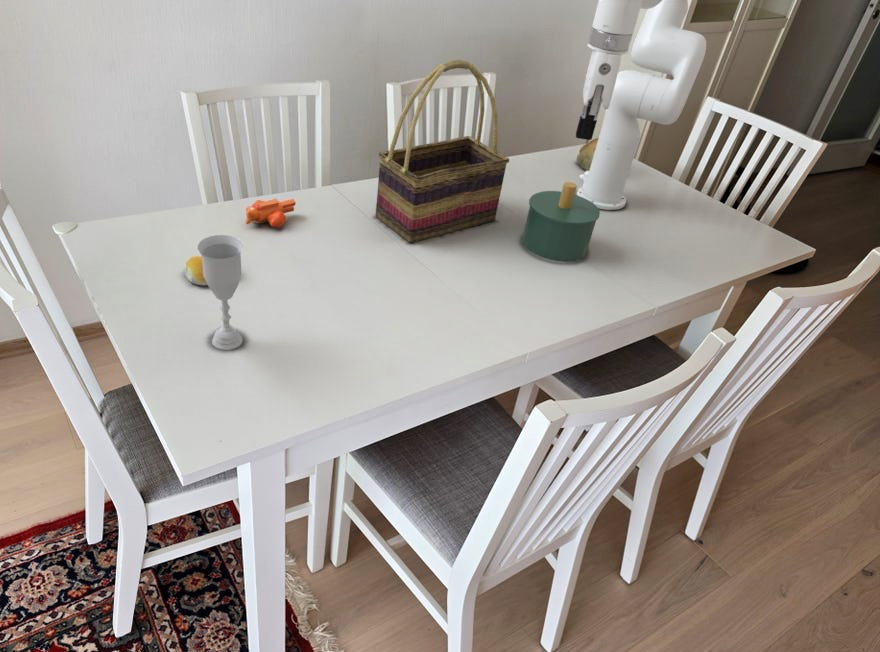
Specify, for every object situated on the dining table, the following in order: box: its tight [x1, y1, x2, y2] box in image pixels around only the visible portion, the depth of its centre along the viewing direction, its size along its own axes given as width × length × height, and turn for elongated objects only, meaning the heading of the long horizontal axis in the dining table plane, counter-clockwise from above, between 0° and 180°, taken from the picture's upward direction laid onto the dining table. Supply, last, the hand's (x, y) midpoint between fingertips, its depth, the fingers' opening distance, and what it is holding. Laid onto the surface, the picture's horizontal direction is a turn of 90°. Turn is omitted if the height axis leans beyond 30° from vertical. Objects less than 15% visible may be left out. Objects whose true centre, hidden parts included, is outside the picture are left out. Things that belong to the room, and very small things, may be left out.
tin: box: [521, 206, 597, 262], centre depth 150 cm, size 14×14×10 cm
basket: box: [375, 59, 510, 244], centre depth 147 cm, size 26×15×35 cm, turn 126°
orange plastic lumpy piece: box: [245, 198, 297, 229], centre depth 147 cm, size 5×8×12 cm
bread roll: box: [183, 255, 208, 286], centre depth 129 cm, size 8×9×4 cm
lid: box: [528, 181, 601, 225], centre depth 145 cm, size 15×15×6 cm
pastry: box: [576, 137, 599, 171], centre depth 190 cm, size 14×12×8 cm
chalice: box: [197, 234, 244, 351], centre depth 109 cm, size 7×7×18 cm
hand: (583, 137), depth 137 cm, fingers closed
